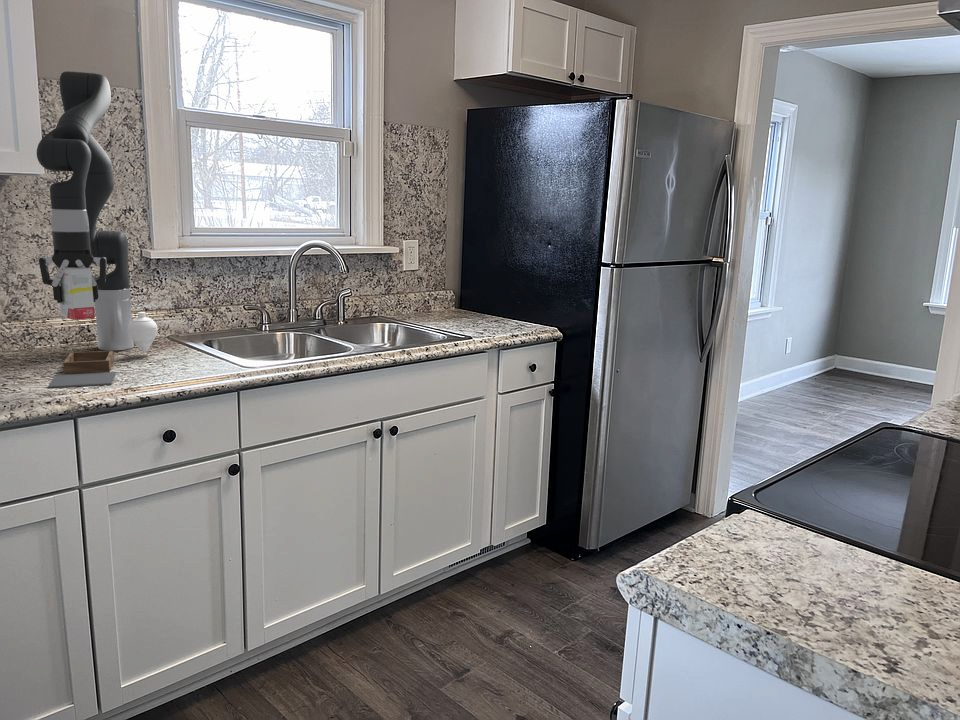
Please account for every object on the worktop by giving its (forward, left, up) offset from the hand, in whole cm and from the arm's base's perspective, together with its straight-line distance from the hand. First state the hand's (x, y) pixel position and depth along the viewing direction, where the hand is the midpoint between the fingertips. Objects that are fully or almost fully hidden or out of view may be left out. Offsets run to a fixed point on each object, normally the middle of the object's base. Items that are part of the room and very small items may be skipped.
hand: (76, 302), depth 175 cm
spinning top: (-28, +12, -19) cm, 36 cm away
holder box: (-14, 0, -19) cm, 23 cm away
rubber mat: (0, 0, -19) cm, 19 cm away
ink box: (0, 0, -4) cm, 4 cm away
